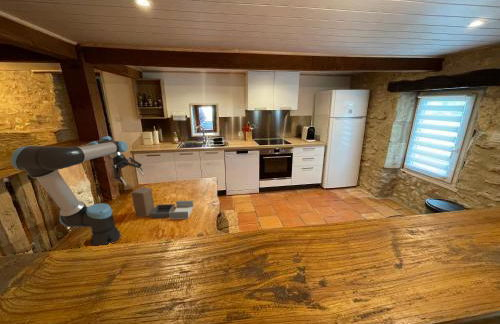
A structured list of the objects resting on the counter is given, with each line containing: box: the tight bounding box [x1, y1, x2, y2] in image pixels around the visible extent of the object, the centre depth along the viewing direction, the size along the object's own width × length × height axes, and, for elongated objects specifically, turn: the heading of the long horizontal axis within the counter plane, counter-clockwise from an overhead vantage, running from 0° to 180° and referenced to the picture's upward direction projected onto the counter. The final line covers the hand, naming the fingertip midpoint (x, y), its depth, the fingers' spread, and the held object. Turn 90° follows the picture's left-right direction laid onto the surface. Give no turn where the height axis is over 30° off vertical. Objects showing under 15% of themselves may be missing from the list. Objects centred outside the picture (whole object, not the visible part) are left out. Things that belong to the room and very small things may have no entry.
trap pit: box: [149, 203, 176, 219], centre depth 155 cm, size 14×14×4 cm
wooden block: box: [131, 187, 155, 218], centre depth 152 cm, size 10×10×20 cm
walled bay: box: [170, 200, 194, 220], centre depth 156 cm, size 13×18×6 cm
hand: (135, 180), depth 150 cm, fingers open, 13 cm apart
